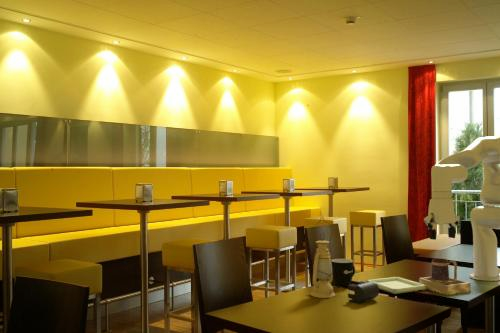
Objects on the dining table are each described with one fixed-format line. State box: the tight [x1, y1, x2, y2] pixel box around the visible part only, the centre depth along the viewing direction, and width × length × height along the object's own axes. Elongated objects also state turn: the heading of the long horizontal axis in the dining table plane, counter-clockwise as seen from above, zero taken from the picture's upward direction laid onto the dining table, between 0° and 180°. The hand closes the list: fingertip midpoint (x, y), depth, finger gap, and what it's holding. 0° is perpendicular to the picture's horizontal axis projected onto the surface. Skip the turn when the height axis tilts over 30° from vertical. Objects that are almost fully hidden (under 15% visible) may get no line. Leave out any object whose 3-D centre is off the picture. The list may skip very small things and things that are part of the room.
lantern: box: [310, 216, 336, 299], centre depth 193 cm, size 12×10×30 cm
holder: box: [418, 276, 471, 296], centre depth 201 cm, size 12×15×4 cm
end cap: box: [347, 281, 380, 305], centre depth 183 cm, size 10×7×7 cm
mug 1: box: [331, 258, 356, 287], centre depth 211 cm, size 12×9×10 cm
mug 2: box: [431, 258, 458, 285], centre depth 201 cm, size 10×7×12 cm
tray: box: [365, 276, 428, 295], centre depth 205 cm, size 16×18×2 cm
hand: (442, 238), depth 201 cm, fingers open, 9 cm apart
